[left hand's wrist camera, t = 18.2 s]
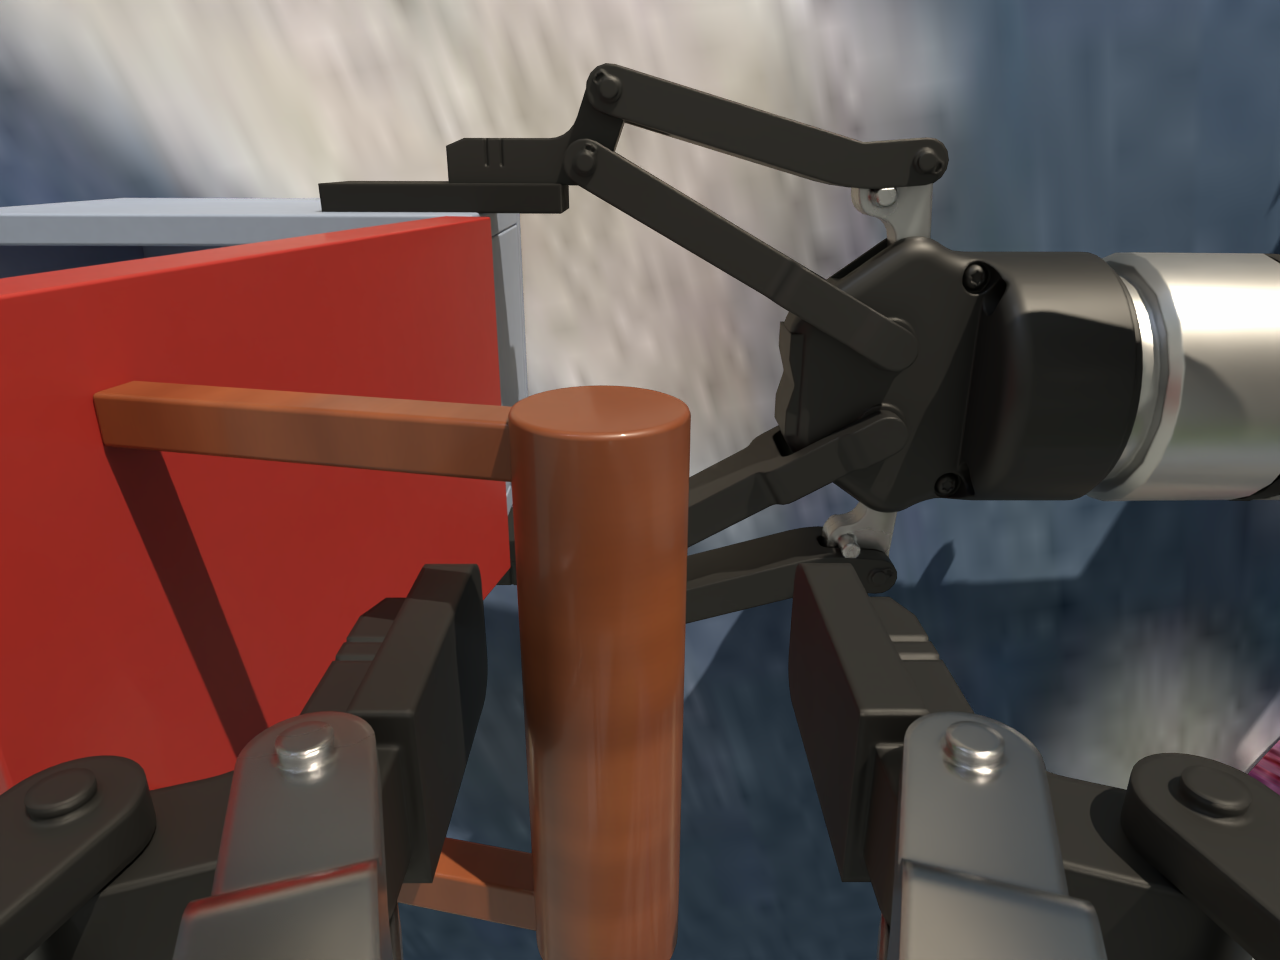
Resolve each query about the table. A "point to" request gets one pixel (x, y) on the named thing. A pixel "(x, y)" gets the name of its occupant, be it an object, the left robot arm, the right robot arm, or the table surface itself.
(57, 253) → the chest
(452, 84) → the table surface
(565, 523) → the lid
